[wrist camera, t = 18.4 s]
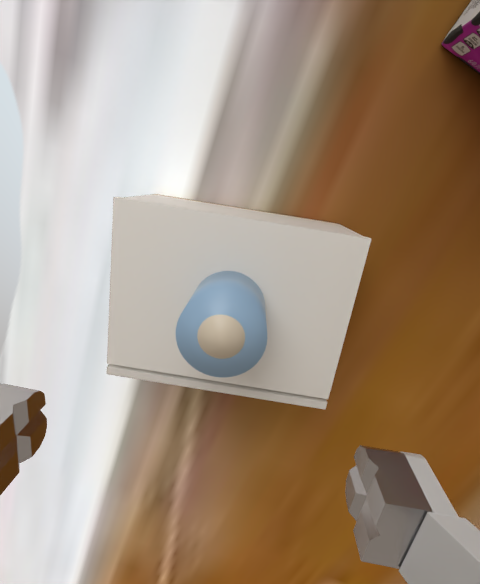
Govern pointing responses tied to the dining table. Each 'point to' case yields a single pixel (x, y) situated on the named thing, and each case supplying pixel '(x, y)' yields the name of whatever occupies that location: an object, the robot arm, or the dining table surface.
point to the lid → (240, 258)
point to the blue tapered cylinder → (223, 325)
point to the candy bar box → (466, 36)
